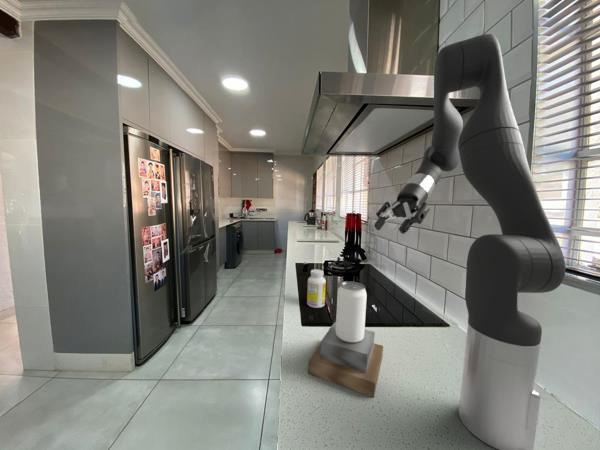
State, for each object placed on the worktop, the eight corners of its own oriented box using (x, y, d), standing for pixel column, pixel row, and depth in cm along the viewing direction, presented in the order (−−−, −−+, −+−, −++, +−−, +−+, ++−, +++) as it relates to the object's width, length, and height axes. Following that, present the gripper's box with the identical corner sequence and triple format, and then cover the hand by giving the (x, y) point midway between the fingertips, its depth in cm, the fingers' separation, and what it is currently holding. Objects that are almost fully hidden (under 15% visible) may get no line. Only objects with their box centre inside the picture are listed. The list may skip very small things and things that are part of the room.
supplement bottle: (320, 300, 93) (322, 268, 92) (327, 307, 87) (329, 273, 86) (304, 301, 91) (305, 268, 90) (310, 309, 85) (311, 273, 84)
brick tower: (382, 357, 59) (384, 330, 59) (373, 397, 47) (376, 363, 46) (328, 341, 65) (329, 316, 65) (307, 373, 53) (309, 342, 52)
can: (342, 345, 52) (346, 291, 51) (331, 330, 58) (333, 281, 57) (369, 342, 53) (373, 289, 52) (355, 327, 59) (358, 280, 59)
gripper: (391, 183, 78) (363, 218, 73) (435, 180, 65) (405, 222, 61) (400, 200, 81) (374, 235, 76) (444, 201, 69) (416, 242, 64)
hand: (388, 229), depth 68 cm, fingers open, 8 cm apart
